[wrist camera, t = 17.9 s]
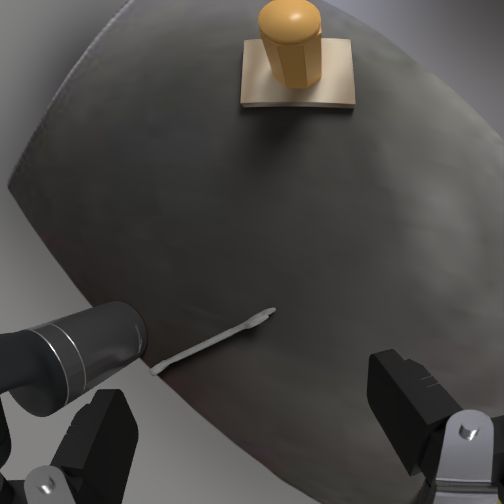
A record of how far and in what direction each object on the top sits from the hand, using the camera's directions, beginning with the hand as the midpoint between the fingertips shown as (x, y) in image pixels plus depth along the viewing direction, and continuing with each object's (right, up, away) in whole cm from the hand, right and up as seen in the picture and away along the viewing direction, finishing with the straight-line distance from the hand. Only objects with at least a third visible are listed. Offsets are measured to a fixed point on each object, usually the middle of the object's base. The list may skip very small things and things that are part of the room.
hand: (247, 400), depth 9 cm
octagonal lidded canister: (+6, +27, +26) cm, 38 cm away
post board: (+6, +28, +27) cm, 39 cm away
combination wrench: (-5, -7, +32) cm, 33 cm away
